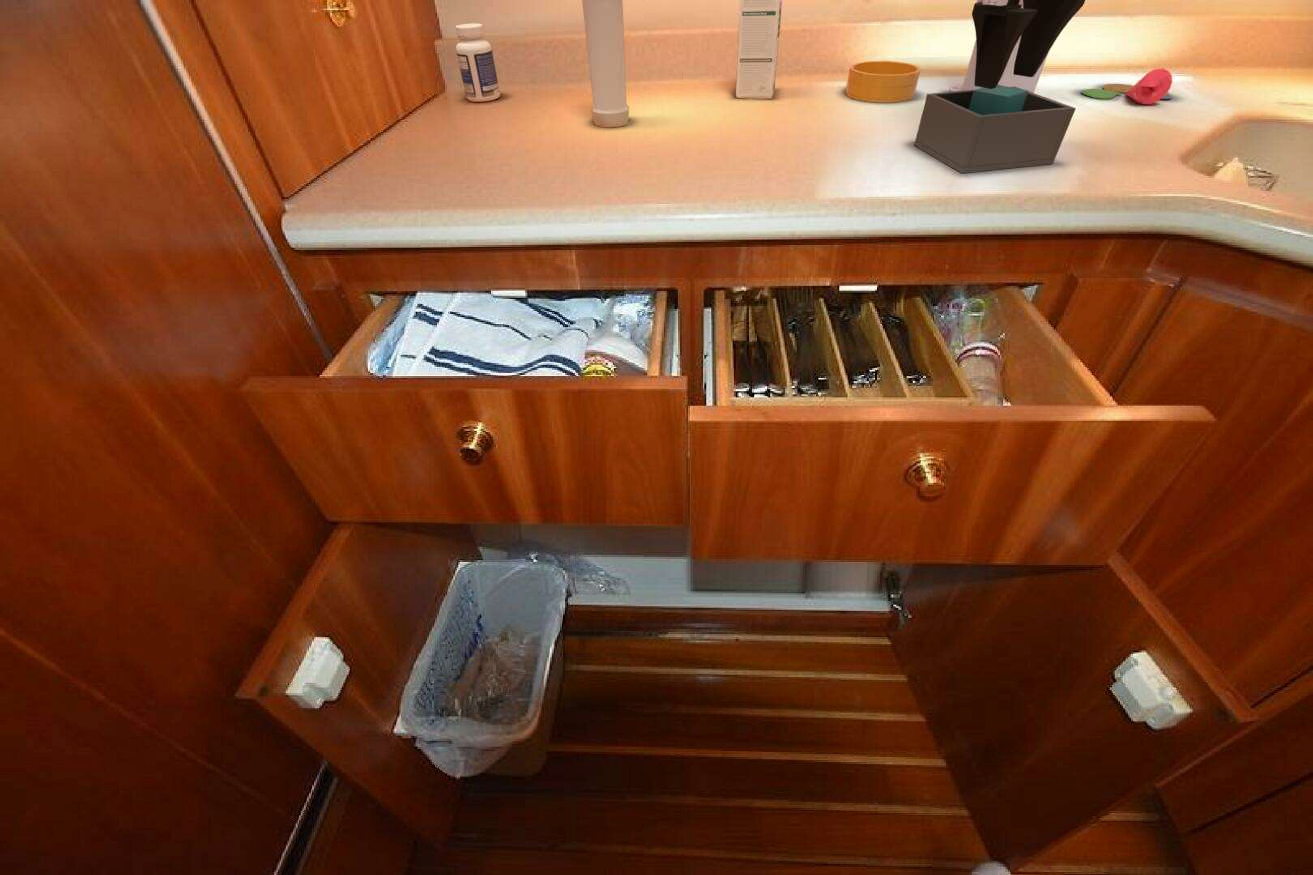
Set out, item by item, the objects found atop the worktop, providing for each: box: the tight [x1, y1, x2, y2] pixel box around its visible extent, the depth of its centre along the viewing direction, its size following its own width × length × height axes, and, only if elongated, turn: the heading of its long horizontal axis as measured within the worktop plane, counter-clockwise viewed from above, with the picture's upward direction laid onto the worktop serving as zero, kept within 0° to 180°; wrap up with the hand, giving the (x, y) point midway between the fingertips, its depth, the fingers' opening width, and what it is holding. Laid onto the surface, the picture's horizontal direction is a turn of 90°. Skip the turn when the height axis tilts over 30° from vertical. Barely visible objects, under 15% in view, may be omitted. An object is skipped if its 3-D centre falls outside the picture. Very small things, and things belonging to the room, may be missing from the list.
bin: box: [913, 86, 1077, 174], centre depth 66 cm, size 11×10×6 cm
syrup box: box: [735, 0, 783, 100], centre depth 87 cm, size 6×6×14 cm
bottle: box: [581, 0, 630, 128], centre depth 74 cm, size 5×5×25 cm
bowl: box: [845, 60, 922, 104], centre depth 88 cm, size 10×10×4 cm
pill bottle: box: [455, 22, 501, 103], centre depth 91 cm, size 5×5×10 cm
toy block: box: [968, 85, 1028, 115], centre depth 66 cm, size 4×4×6 cm
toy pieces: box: [1080, 67, 1173, 105], centre depth 84 cm, size 12×11×4 cm
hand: (1004, 81), depth 63 cm, fingers open, 7 cm apart
